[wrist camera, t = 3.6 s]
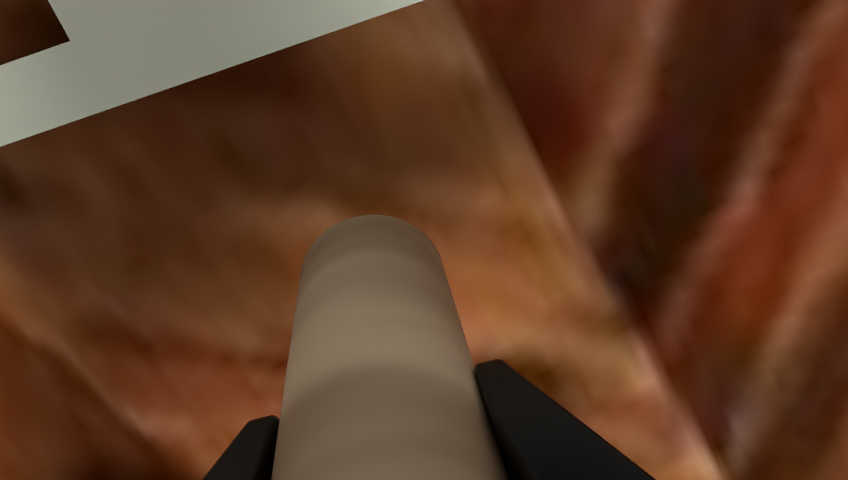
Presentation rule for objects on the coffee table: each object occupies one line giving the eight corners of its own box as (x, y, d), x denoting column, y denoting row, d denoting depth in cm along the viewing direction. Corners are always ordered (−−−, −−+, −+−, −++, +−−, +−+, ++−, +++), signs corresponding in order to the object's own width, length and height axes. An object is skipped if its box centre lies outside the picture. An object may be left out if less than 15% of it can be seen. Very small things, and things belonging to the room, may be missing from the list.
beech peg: (455, 321, 14) (674, 1053, 5) (323, 354, 13) (279, 1158, 4) (427, 198, 12) (655, 887, 3) (280, 234, 12) (96, 1034, 3)
